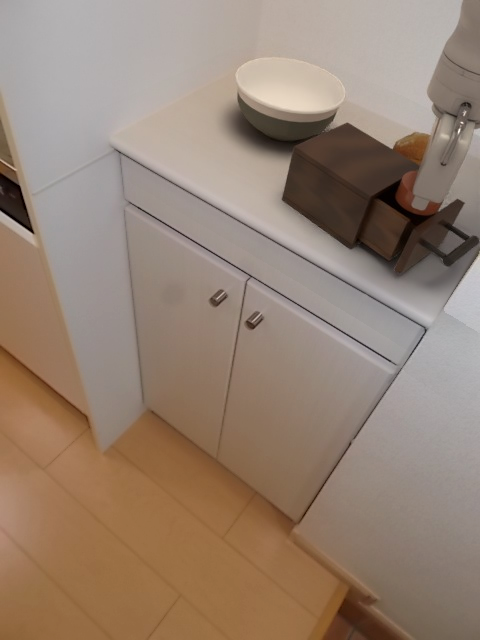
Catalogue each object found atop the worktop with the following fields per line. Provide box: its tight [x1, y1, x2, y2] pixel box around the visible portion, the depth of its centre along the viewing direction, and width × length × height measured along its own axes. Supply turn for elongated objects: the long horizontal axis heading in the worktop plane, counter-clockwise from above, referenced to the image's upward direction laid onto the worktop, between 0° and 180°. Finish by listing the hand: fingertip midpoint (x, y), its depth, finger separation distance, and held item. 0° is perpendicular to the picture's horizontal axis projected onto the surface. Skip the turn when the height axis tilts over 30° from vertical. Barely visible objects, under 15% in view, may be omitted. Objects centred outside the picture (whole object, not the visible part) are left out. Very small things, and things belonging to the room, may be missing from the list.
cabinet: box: [281, 122, 420, 250], centre depth 76 cm, size 14×12×9 cm
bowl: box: [234, 56, 347, 142], centre depth 90 cm, size 19×19×8 cm
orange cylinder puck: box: [395, 171, 445, 215], centre depth 68 cm, size 6×6×3 cm
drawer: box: [357, 183, 480, 276], centre depth 72 cm, size 17×11×7 cm, turn 44°
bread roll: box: [392, 131, 430, 166], centre depth 87 cm, size 10×10×8 cm
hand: (422, 190), depth 68 cm, fingers closed on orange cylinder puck, 6 cm apart
